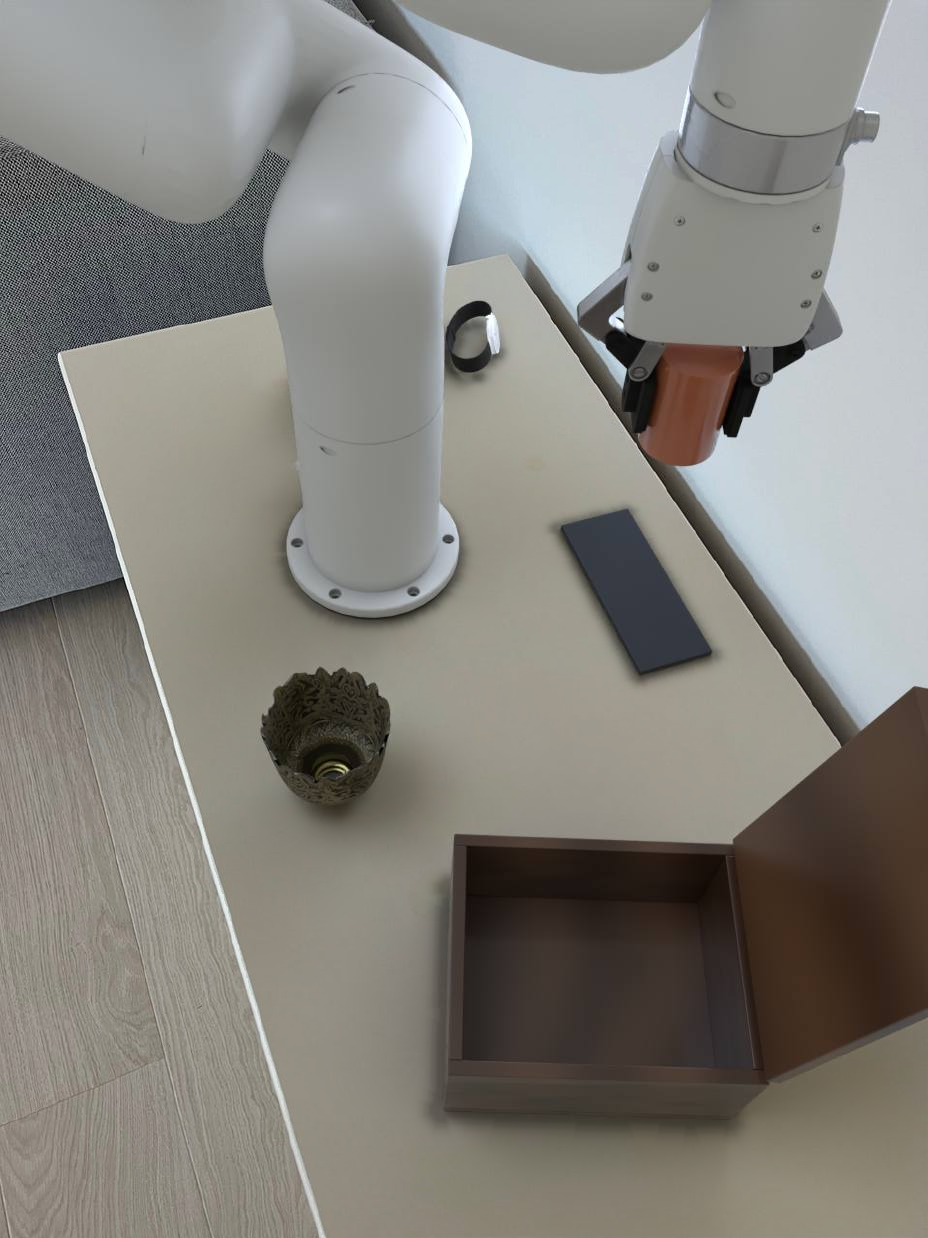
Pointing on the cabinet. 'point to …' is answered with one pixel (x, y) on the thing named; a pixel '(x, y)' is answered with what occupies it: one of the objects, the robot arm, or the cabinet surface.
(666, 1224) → the cabinet surface
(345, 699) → the cup
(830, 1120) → the cabinet surface
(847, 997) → the lid
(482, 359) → the watch
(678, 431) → the glossy terracotta cylinder
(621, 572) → the mat
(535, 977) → the chest
